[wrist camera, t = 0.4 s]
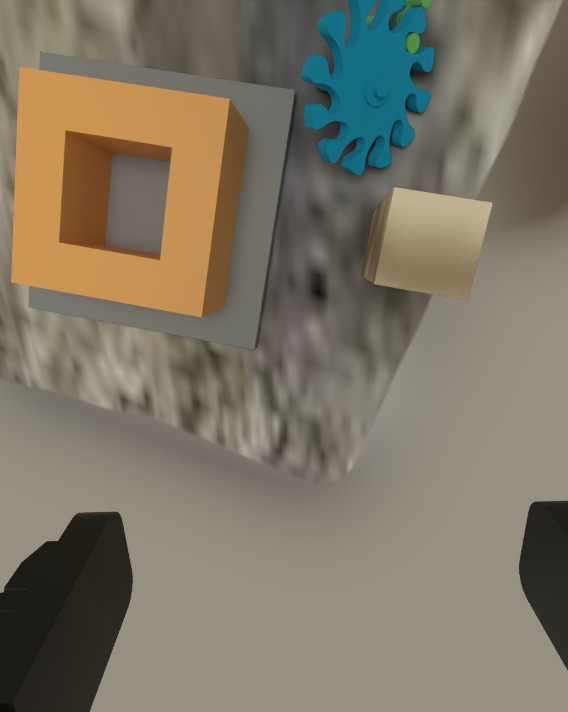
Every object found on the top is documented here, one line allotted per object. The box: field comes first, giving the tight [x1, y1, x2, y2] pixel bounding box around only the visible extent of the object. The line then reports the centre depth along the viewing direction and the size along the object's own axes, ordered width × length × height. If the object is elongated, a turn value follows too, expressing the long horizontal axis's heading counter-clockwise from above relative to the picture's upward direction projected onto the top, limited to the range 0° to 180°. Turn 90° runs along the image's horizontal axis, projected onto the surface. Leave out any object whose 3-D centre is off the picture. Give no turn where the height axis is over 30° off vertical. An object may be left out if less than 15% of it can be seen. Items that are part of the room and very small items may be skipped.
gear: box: [301, 0, 435, 175], centre depth 30 cm, size 11×6×10 cm
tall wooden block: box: [361, 187, 492, 300], centre depth 28 cm, size 4×4×12 cm
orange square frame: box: [11, 52, 296, 350], centre depth 31 cm, size 18×18×7 cm
